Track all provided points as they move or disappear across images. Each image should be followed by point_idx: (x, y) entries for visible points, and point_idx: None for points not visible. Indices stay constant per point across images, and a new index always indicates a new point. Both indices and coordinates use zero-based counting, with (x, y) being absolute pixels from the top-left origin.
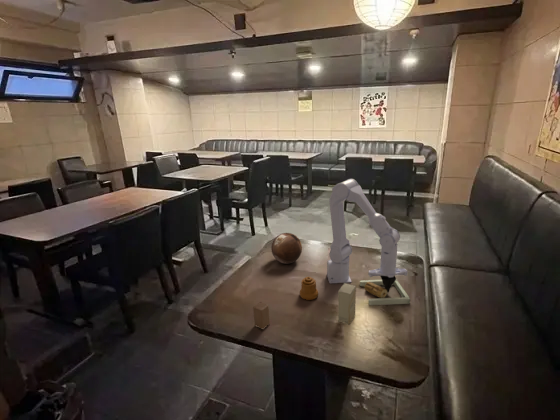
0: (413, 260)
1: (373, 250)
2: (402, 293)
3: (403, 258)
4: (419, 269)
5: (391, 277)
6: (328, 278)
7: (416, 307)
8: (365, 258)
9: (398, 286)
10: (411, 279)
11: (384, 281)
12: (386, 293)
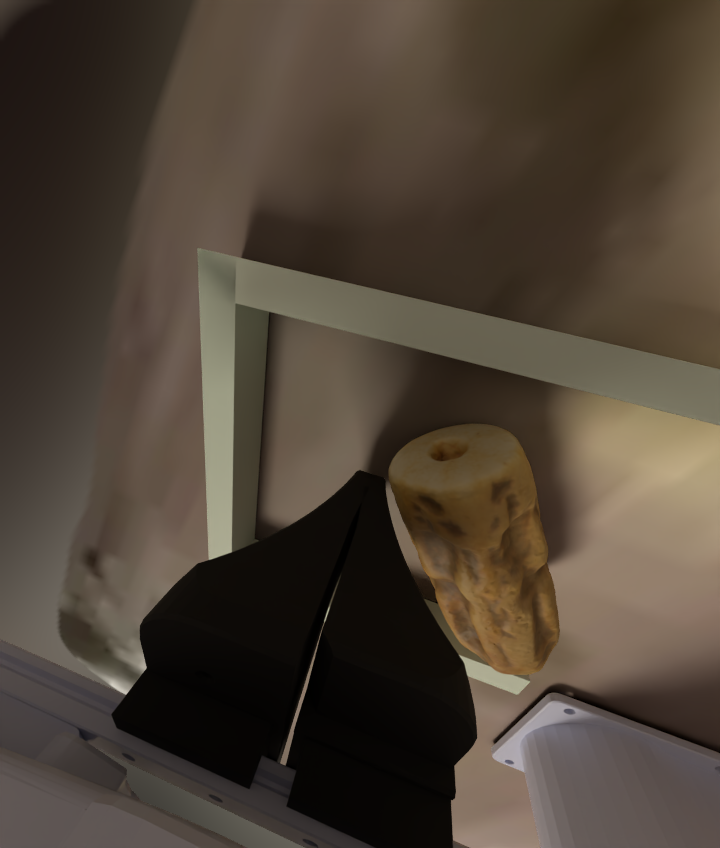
0: (80, 636)
1: None
2: (240, 397)
3: (119, 665)
4: (65, 579)
5: (232, 683)
6: None
7: (202, 161)
8: None
9: (231, 497)
10: (126, 533)
11: (443, 641)
12: (406, 454)
